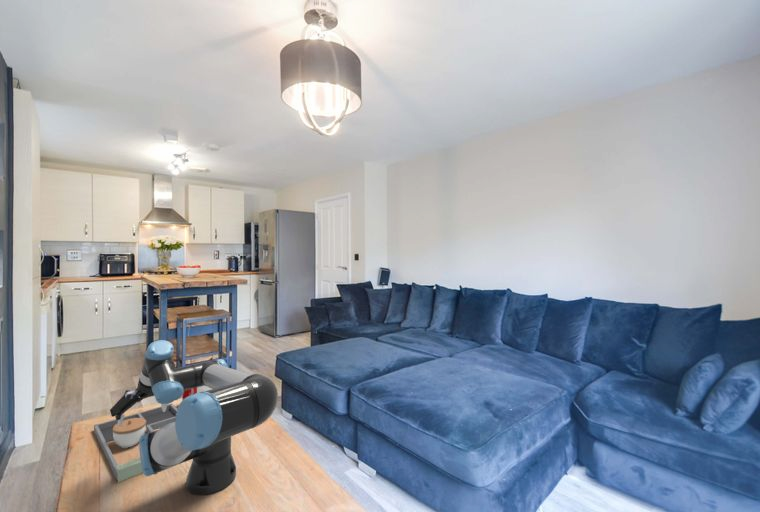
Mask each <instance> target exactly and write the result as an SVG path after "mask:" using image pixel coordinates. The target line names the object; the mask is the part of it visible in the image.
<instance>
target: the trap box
mask: <svg viewBox="0 0 760 512" xmlns="http://www.w3.org/2000/svg"><path fill="white" fill-rule="evenodd" d="M177 409H178V407H176V406H175V405H174V404H173V403H169V404H168V405H167V408H166V411H165V412H163V411H162V408H161V406H158V407H154V408H152V409H151V408H150V409H148V410H144V411H139V412H137V413H133V414H129V415H124V419H123V421H124V420H127V419H132V418H143V419H145V420H146V429H145V433H146V434H147V433H148V432H153V431H156V430H159V429H160V428H162V427H163V426H165V425H167V424H169V423H172V422H175V418H176V413H178V412H177ZM117 423H118V421H117V420H116V418H115V419H111V420H108V421H104V422H100V423H96V424H94V425H93V432H94V434H95V436H96V438H97V441H98V443H99V444H100V447H101V449H102V452H103V453H104V454H105V457H106V460H107V462H108V463H109V465H110V468H111V470H112V472H113V474H114V477H115V479H116V478H117V479H116V480H118V481H117V482H118V483H120V482H123V481H126V480H128V479H130V478H133V477H135V476H138V475H141V474H143V471H142V466H141V460H140V457H139V458H135V459H133V460H130V461H128V462H125V463H121V464H119V465H118V462H117V461H116V459H115V457H114V454H113V453H112V451H111V449H110V447H109V445H108V443H109V442H114V439H113V427H114V426H115V425H116V424H117Z"/></svg>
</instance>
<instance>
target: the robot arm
mask: <svg viewBox="0 0 760 512" xmlns="http://www.w3.org/2000/svg"><path fill="white" fill-rule="evenodd" d="M174 350H175V348H174V345H173V343H172V342H170V341H168V340H165V339H158V340H155V341H153V342H151V343H150V344H149V345H148V346H147V349H146V351H145V353H144V359H143V363H142V366H141V370H140V374H139V378H138V382H137V388H135V390H130V389H127V390H125V392H124V394H123V395H122V396H121V397H120V399H118V401H117V402H115V404H114V405H113V406H112V407H111V408H110V409H109V412H110V417H115V419H116V420H117V421H118V424H119V427H120V426H122V423H123V419H124V417H125V416H126V415H125V413H126V412H127V411H128V410H129V409H130V408H132V407H133V406H135V404H137V403H140V402H142V401H143V399H147V398H151V397H154V398H155V400H156V401H155V402H157V403H158V404H160V407H161V408H162V411H163V412H165V411H166V408H167V405H168V404H173V402H174V401H178V400H179V399H180V398H181V397H182V395H183V391H185V390H189V389H193V388H196V387H197V388H199V387H204V386H205V387H208V388H209V389H208V390H204V391H200V392H199V391H197V393H195V394H193V395H191V396H188V397H186V398H185V399H184V400H183V401H182V400H181V401H180V402H179V404H178V407H177V412H178V413H176V418H175V422H172V423H169V424H167V425H165V426H163V427H161V428H158V429H155V430H154V431H153V432H148V433H147V432H146V433H144V435H142V436H141V437H140V439H139V443H138V444H139V445H138V447H139V458H140V460H141V466H142V471H143V473H142V474H143V475H144V477H151V476H152V475H153V476H154V475H158V474H159V473H160V472H163V471H165V470H168V469H170V468H174V467H175V466H178V465H181V464H184V463H186V462H188V461H191V460H192V461H191V465H190V467H189V470H188V473H187V475H186V484H185V487H186V489H187V491H188V492H190V493H191V494H194V495H210V494H214V493H216V492H219V491H222V490H223V489H225V488H227V487H228V486H230V485H231V484H232V482H234V480H235V479H236V477H237V466H236V463H235V460H234V458H233V457H234V456H233V455H232V437H233V436H236V435H239V434H241V433H243V432H244V433H245V432H246V431H249V430H251V429H254V428H257V427H259V426H260V425H262V424H264V423H265V422H267V420H268V419H270V417H271V416H272V414H273V413H274V411H275V410H276V407H277V405H278V400H279V398H278V397H279V392H278V388H277V386H276V384H275V383H274V381H273V380H272V379H271V378H269V377H267V376H266V375H264V374H259V373H253V374H248V373H245V372H242V371H240V370H237V369H233V368H231V367H228V364H227V362H226V360H225V359H223V358H218V359H211V360H209V361H204V362H199V363H195V364H190V365H186V366H185V365H184V366H181V367H176V364H175V361H174V358H173V355H174V352H175V351H174Z"/></svg>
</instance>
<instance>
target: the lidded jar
mask: <svg viewBox="0 0 760 512" xmlns="http://www.w3.org/2000/svg"><path fill="white" fill-rule="evenodd" d="M144 434H146V420H145V419H143V418H132V419H127V420H124V421H123V423H122V426H120V427H119V424H118V423H117V424H116V425H115V426H114V427H113V439H114V440H113V442H114V443H115V445H117V446H118V447H119V448H122V449H128V447H129V448H132V447H134V445H135V446H136V445H137V444H139V439H140V437H141V436H142V435H144Z"/></svg>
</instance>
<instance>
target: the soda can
mask: <svg viewBox="0 0 760 512" xmlns="http://www.w3.org/2000/svg"><path fill="white" fill-rule="evenodd" d="M195 393H198V387H196V388H193V389H189V390H185V391H183V394H182V396H181V397H182V400H181V402H182V401H183V400H184V399H185V398H186V397H188V396H191V395H193V394H195Z"/></svg>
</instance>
